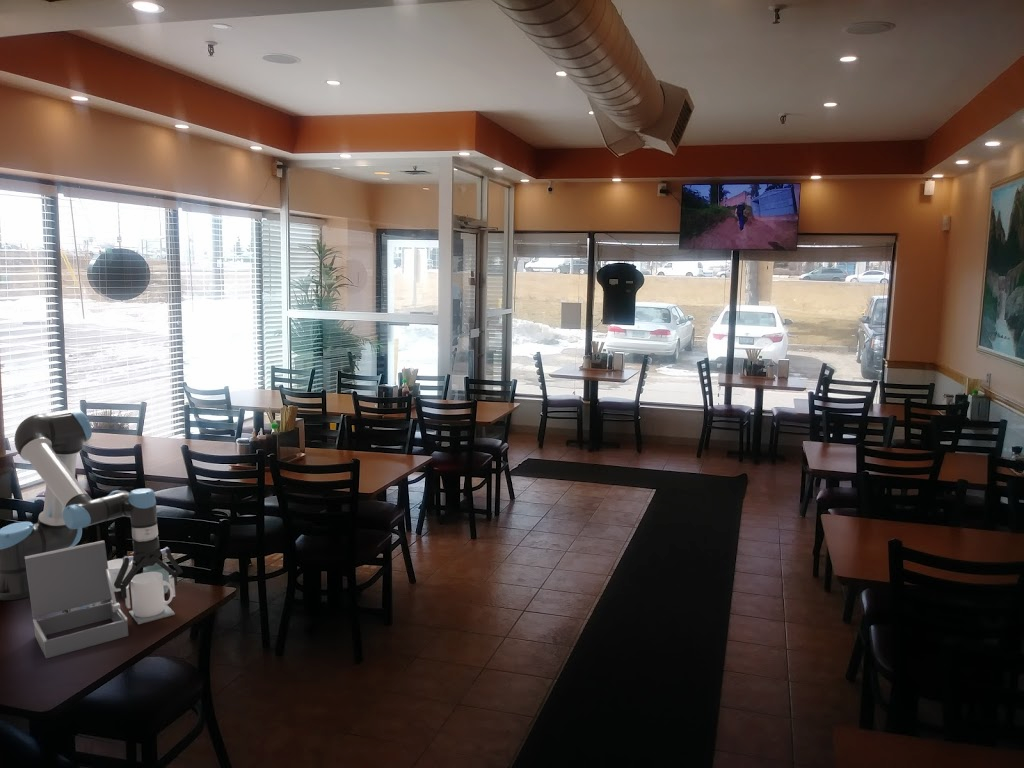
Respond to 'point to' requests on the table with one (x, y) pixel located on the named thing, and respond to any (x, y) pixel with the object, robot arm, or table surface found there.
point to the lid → (67, 578)
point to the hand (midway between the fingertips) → (150, 601)
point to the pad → (165, 613)
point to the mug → (149, 594)
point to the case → (80, 619)
